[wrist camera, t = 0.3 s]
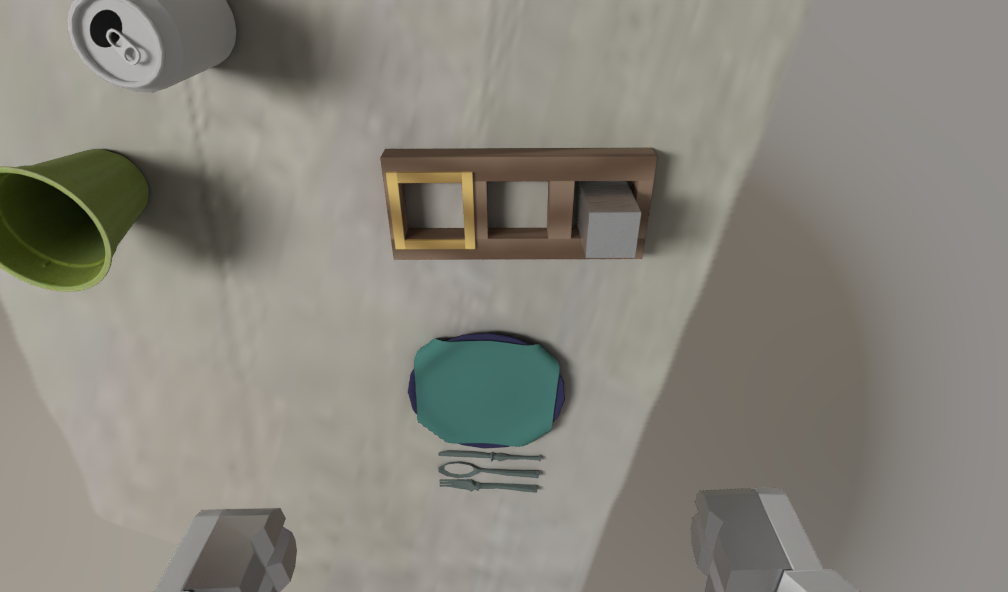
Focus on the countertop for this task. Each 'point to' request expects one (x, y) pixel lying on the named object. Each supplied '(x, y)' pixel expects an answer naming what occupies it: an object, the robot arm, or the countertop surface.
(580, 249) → the walnut rail
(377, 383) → the countertop surface
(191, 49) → the can
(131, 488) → the countertop surface
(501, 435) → the cutlery set
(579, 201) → the steel block
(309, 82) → the countertop surface
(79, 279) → the plant pot
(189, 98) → the countertop surface
